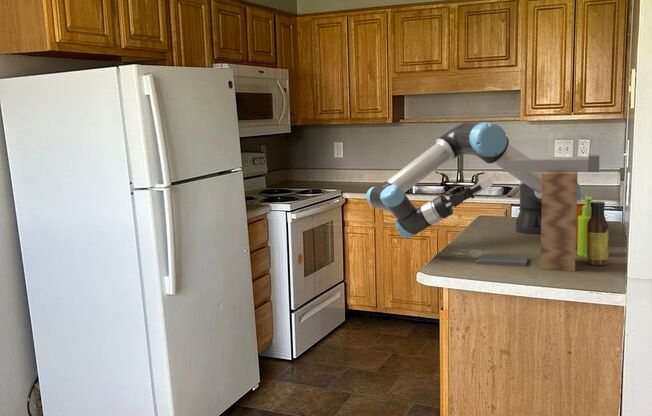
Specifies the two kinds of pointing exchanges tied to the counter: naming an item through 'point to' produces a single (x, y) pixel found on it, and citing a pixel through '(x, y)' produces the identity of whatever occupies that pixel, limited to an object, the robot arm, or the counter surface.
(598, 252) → the sauce bottle
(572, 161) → the pin
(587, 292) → the counter surface
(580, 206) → the baking soda box
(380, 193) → the robot arm
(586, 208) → the soap dispenser
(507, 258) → the base plate
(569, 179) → the brown wooden block
